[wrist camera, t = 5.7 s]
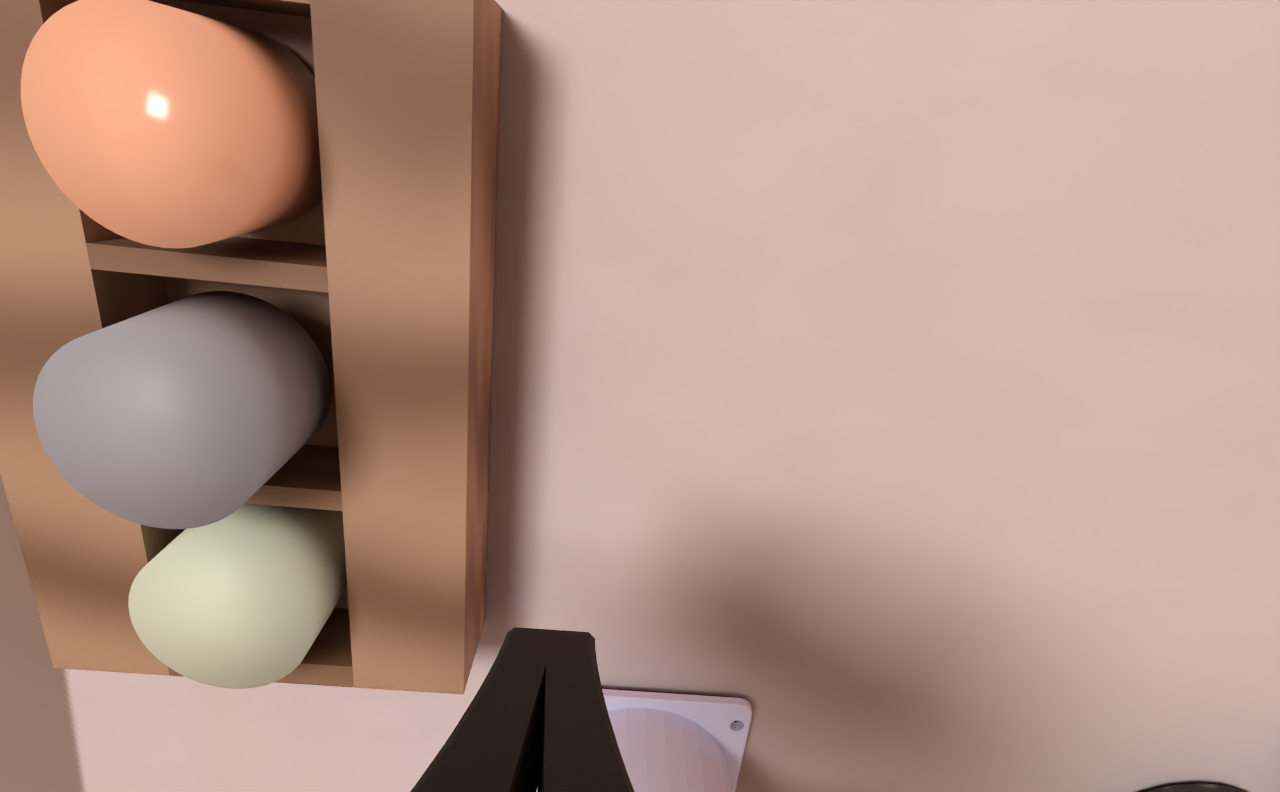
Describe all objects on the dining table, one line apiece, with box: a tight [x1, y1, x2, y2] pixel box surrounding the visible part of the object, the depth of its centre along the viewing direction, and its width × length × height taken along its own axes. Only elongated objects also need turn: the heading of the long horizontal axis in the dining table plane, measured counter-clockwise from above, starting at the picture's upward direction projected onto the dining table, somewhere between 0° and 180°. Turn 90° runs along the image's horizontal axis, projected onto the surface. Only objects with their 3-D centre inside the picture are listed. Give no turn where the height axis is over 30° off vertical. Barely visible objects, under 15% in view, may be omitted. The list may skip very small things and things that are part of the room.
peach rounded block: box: [21, 0, 322, 249], centre depth 15 cm, size 5×5×4 cm
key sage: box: [128, 503, 347, 689], centre depth 19 cm, size 5×5×4 cm
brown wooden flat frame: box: [0, 0, 502, 694], centre depth 18 cm, size 19×12×3 cm, turn 174°
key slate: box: [33, 291, 331, 529], centre depth 16 cm, size 5×5×4 cm
